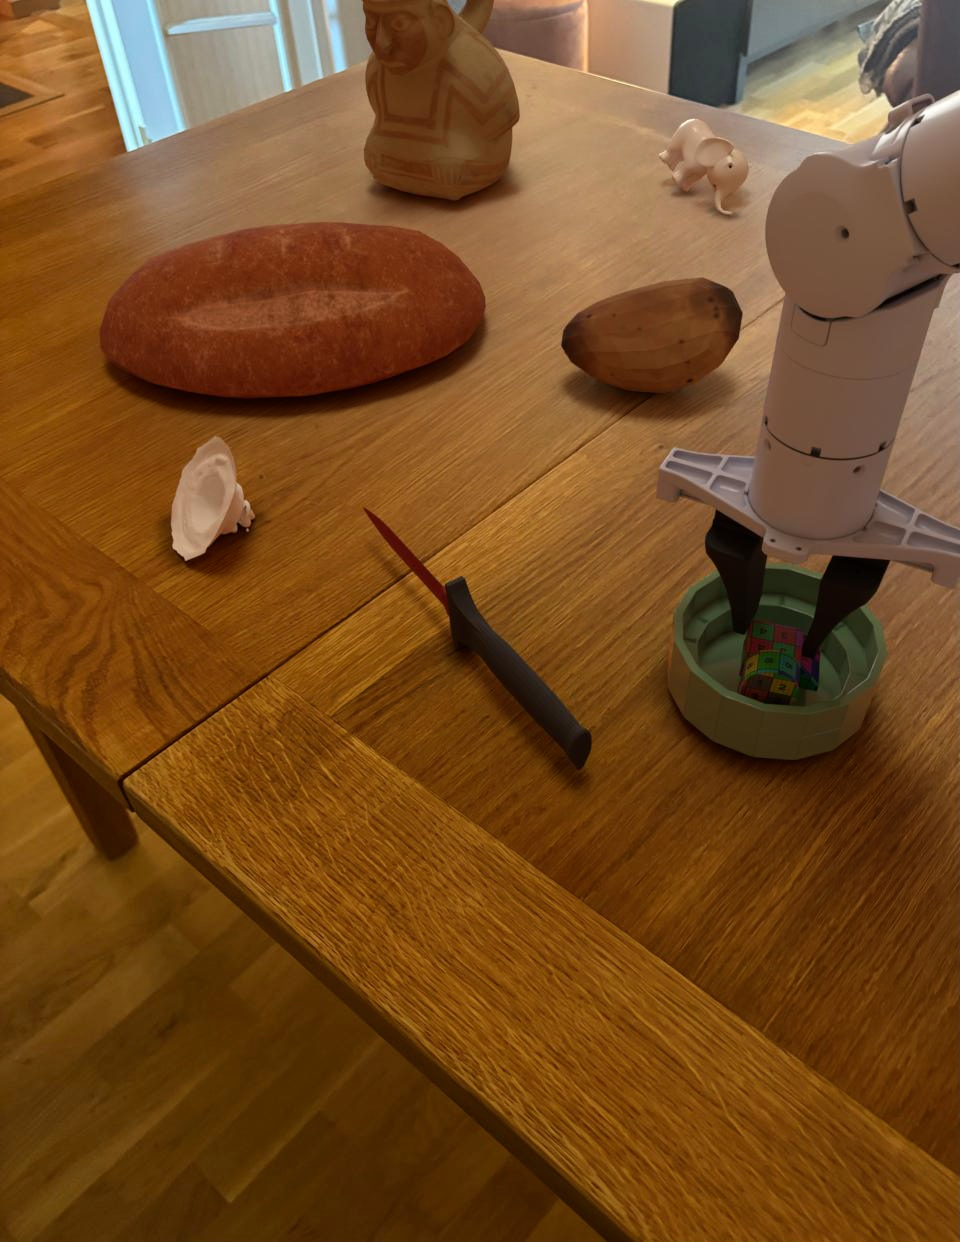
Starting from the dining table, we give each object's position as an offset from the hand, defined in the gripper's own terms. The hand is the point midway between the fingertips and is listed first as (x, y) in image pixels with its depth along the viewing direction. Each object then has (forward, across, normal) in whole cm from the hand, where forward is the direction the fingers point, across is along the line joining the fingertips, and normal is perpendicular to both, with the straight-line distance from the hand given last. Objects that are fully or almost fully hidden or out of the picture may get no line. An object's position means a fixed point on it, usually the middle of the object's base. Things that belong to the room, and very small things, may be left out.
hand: (777, 632), depth 55 cm
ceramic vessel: (+5, -52, +52) cm, 74 cm away
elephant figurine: (+5, -26, +59) cm, 65 cm away
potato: (+5, -18, +25) cm, 31 cm away
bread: (+5, -47, +19) cm, 51 cm away
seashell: (+5, -37, -4) cm, 38 cm away
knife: (+5, -17, -5) cm, 18 cm away
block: (+2, +1, -1) cm, 2 cm away
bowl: (+4, 0, 0) cm, 4 cm away
